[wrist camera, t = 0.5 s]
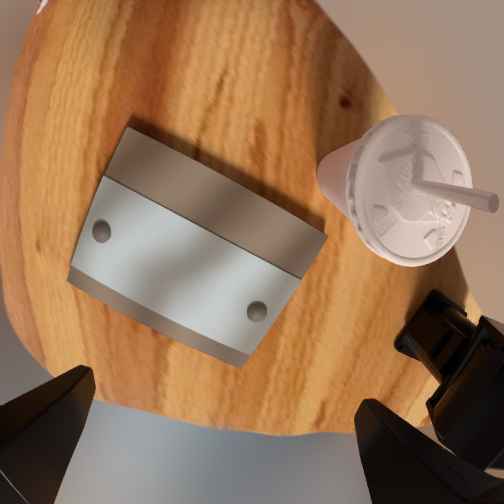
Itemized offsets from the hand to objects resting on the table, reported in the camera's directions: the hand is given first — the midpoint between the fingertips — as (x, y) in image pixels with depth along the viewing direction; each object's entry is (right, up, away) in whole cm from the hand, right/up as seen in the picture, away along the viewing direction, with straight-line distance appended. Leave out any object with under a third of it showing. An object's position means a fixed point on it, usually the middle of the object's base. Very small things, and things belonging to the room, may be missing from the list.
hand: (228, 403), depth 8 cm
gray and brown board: (-4, +4, +12) cm, 13 cm away
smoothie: (+7, +10, +11) cm, 16 cm away
